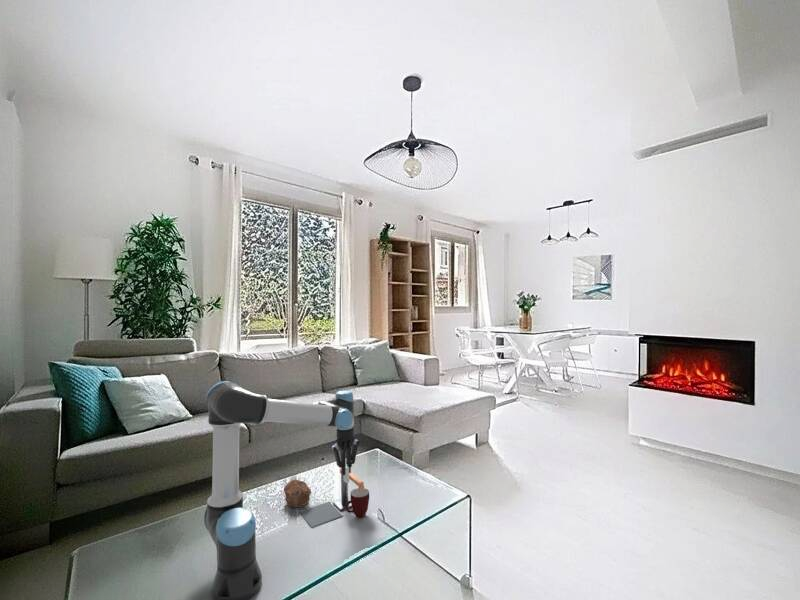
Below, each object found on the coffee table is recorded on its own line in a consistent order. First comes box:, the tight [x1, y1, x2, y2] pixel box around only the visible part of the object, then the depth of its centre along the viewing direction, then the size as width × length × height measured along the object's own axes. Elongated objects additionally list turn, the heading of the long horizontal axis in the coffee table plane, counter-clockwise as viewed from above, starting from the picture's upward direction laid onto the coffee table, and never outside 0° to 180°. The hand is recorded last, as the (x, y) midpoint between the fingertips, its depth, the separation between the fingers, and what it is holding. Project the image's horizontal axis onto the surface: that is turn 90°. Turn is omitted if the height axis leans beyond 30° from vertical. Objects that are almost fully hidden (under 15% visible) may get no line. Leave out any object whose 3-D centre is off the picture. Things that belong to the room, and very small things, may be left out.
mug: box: [345, 487, 370, 519], centre depth 166 cm, size 10×8×10 cm
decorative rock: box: [283, 478, 312, 508], centre depth 177 cm, size 13×11×10 cm
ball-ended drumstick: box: [339, 467, 365, 492], centre depth 169 cm, size 4×19×4 cm, turn 34°
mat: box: [299, 501, 343, 529], centre depth 168 cm, size 14×14×1 cm
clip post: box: [332, 473, 352, 512], centre depth 175 cm, size 8×8×14 cm
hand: (346, 481), depth 167 cm, fingers closed
